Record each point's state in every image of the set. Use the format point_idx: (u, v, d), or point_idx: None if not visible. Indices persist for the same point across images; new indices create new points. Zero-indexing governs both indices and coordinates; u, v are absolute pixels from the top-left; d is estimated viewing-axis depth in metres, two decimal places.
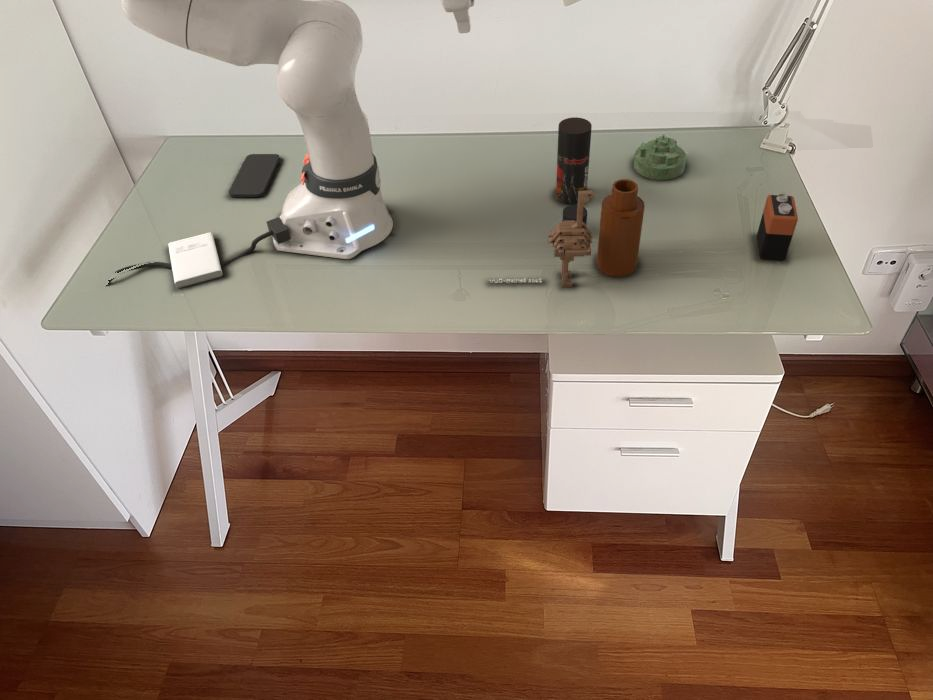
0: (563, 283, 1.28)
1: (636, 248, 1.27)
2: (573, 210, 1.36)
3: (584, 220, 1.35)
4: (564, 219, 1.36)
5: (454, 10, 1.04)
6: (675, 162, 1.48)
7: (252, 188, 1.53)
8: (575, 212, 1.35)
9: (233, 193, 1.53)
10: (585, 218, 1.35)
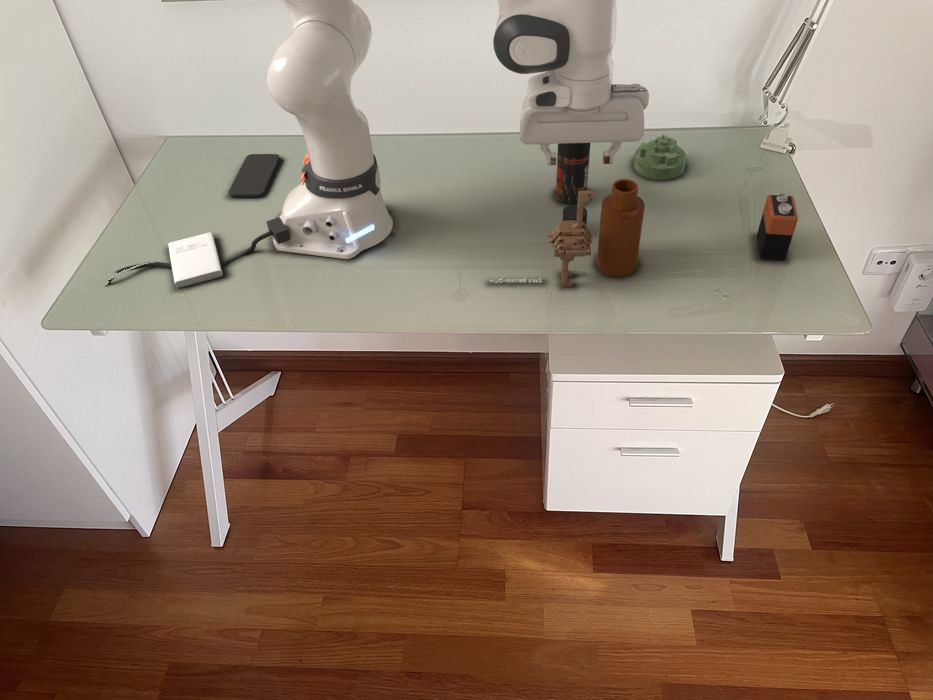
0: (563, 283, 1.28)
1: (636, 248, 1.27)
2: (573, 210, 1.36)
3: (584, 220, 1.35)
4: (564, 219, 1.36)
5: None
6: (675, 162, 1.48)
7: (252, 188, 1.53)
8: (575, 212, 1.35)
9: (233, 193, 1.53)
10: (585, 218, 1.35)
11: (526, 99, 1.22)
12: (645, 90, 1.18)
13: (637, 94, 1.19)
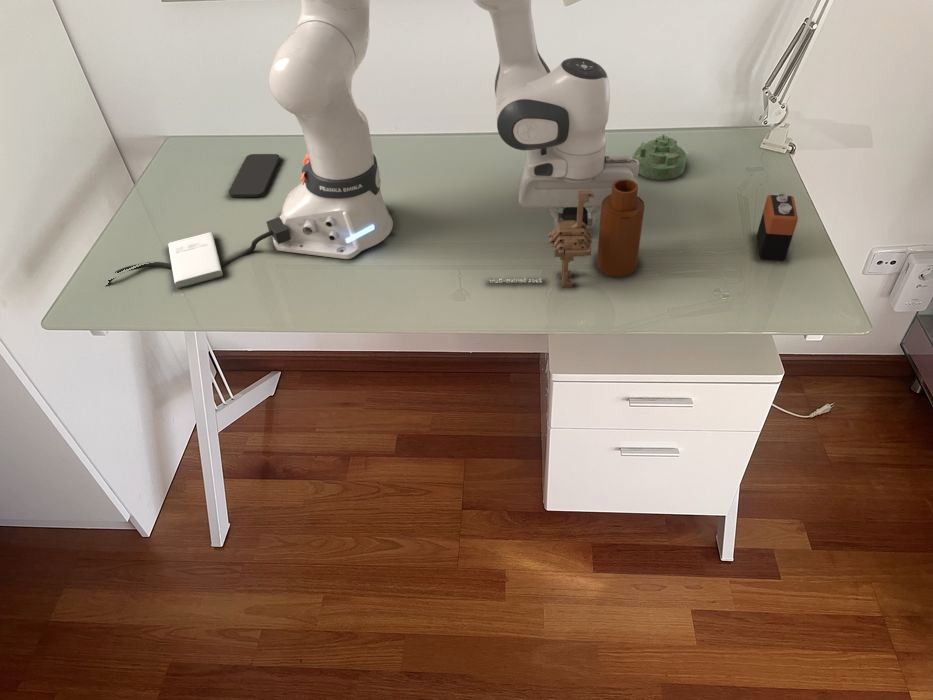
0: (563, 283, 1.28)
1: (636, 248, 1.27)
2: (573, 210, 1.36)
3: (584, 220, 1.35)
4: (564, 219, 1.36)
5: None
6: (675, 162, 1.48)
7: (252, 188, 1.53)
8: (575, 212, 1.35)
9: (233, 193, 1.53)
10: (585, 218, 1.35)
11: (525, 167, 1.31)
12: (636, 161, 1.27)
13: (628, 165, 1.28)
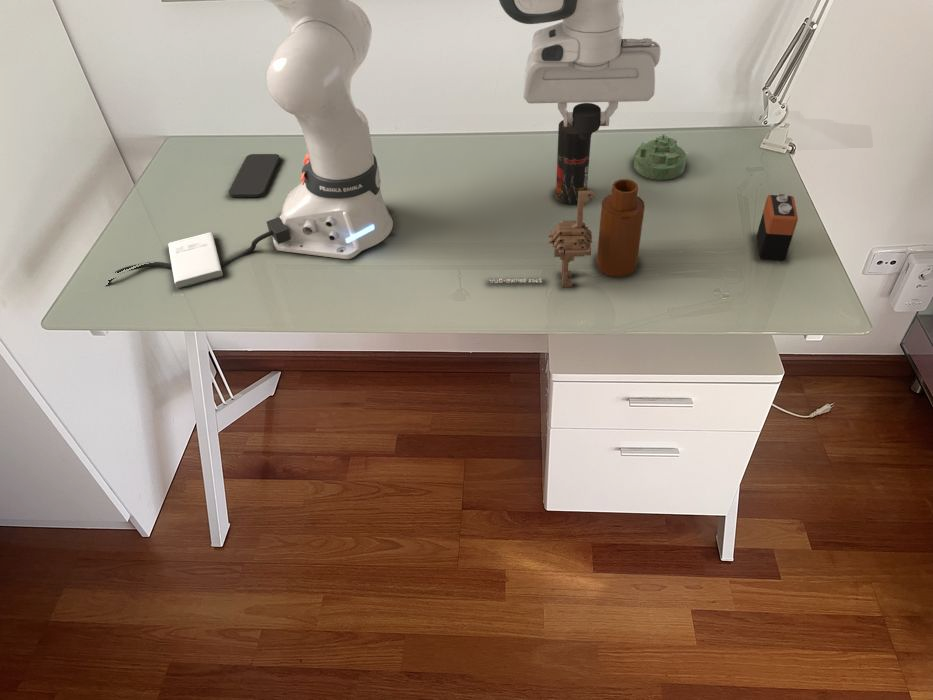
0: (563, 283, 1.28)
1: (636, 248, 1.27)
2: (584, 108, 1.21)
3: (597, 119, 1.20)
4: (575, 118, 1.21)
5: None
6: (675, 162, 1.48)
7: (252, 188, 1.53)
8: (587, 109, 1.20)
9: (233, 193, 1.53)
10: (598, 116, 1.20)
11: (531, 54, 1.16)
12: (657, 45, 1.12)
13: (648, 49, 1.13)
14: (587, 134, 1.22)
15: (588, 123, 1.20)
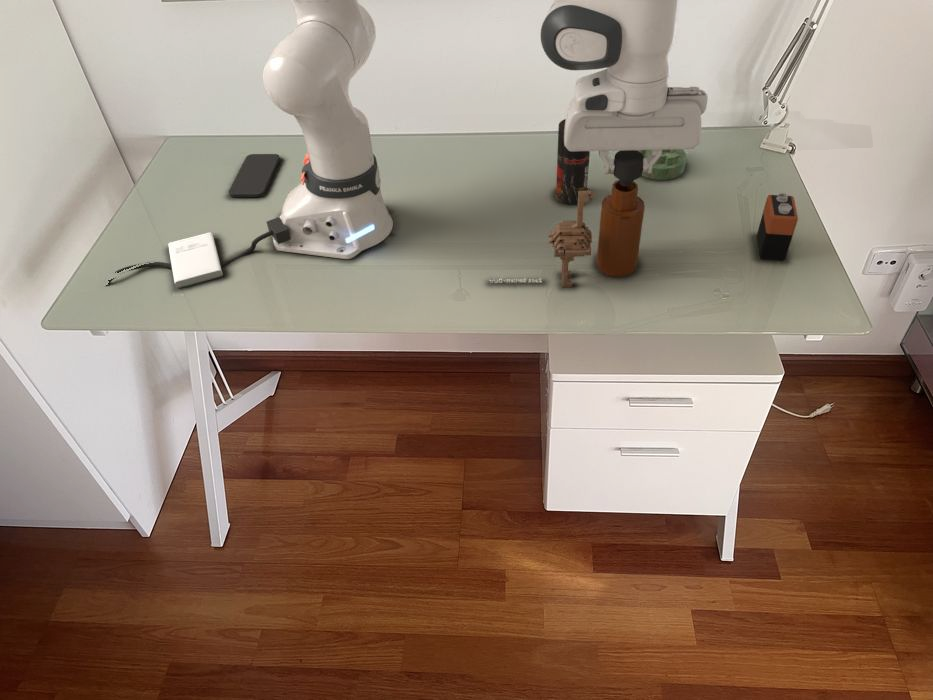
0: (563, 283, 1.28)
1: (636, 248, 1.27)
2: (626, 155, 1.17)
3: (640, 166, 1.17)
4: (616, 165, 1.17)
5: None
6: (675, 162, 1.48)
7: (252, 188, 1.53)
8: (629, 157, 1.17)
9: (233, 193, 1.53)
10: (641, 164, 1.17)
11: (573, 102, 1.12)
12: (704, 94, 1.09)
13: (695, 98, 1.09)
14: (629, 181, 1.19)
15: (631, 171, 1.16)
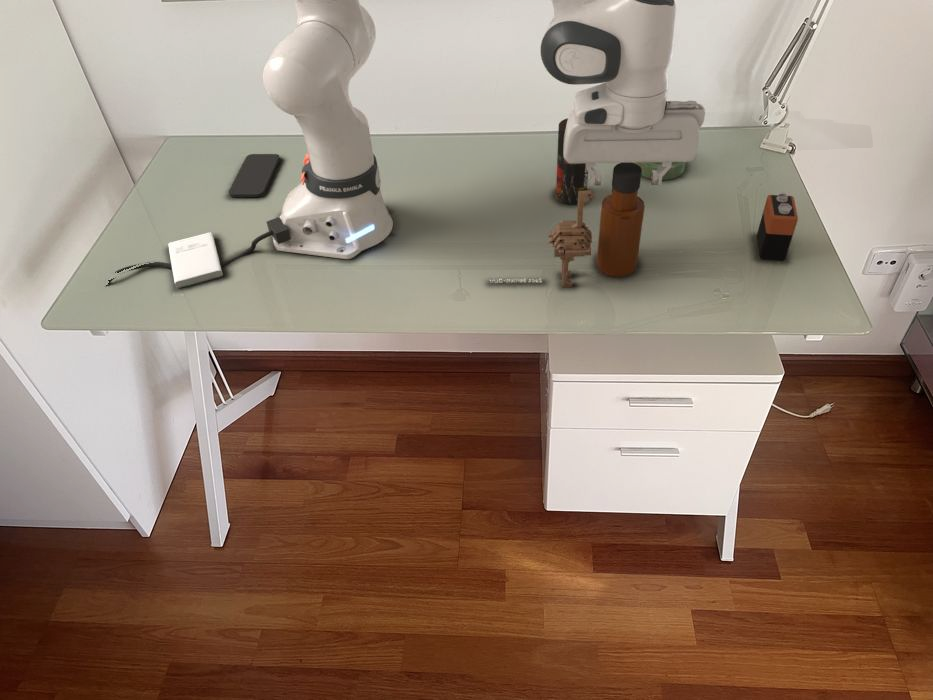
0: (563, 283, 1.28)
1: (636, 248, 1.27)
2: (625, 168, 1.19)
3: (638, 179, 1.18)
4: (615, 178, 1.19)
5: None
6: (675, 162, 1.48)
7: (252, 188, 1.53)
8: (627, 170, 1.19)
9: (233, 193, 1.53)
10: (639, 177, 1.18)
11: (572, 115, 1.14)
12: (701, 107, 1.10)
13: (692, 112, 1.11)
14: None
15: (629, 184, 1.18)
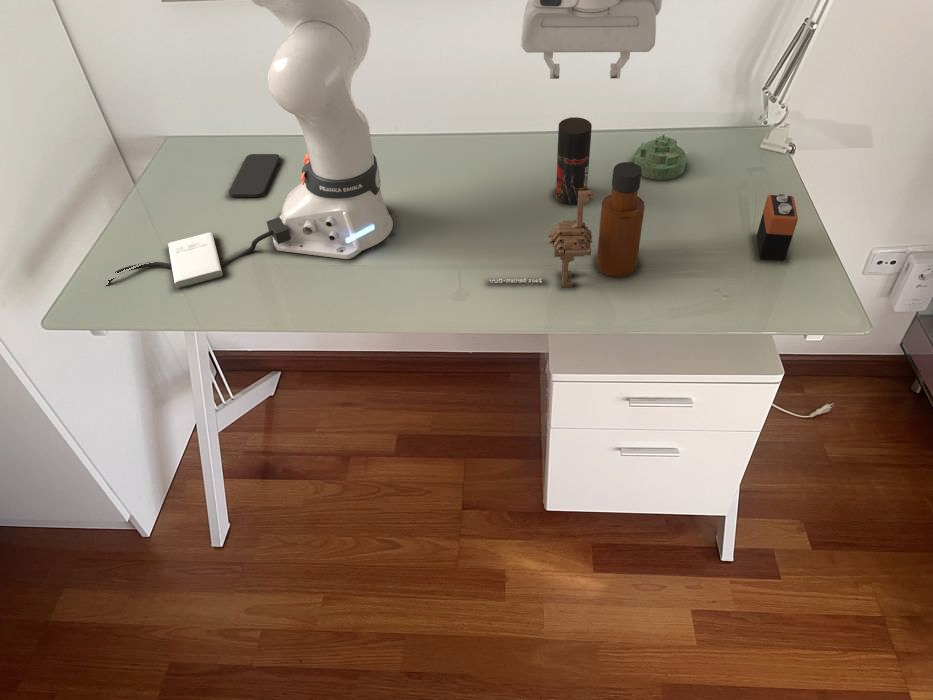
0: (563, 283, 1.28)
1: (636, 248, 1.27)
2: (625, 168, 1.19)
3: (638, 179, 1.18)
4: (615, 178, 1.19)
5: None
6: (675, 162, 1.48)
7: (252, 188, 1.53)
8: (627, 170, 1.19)
9: (233, 193, 1.53)
10: (639, 177, 1.18)
11: (529, 1, 1.13)
12: None
13: None
14: None
15: (629, 184, 1.18)
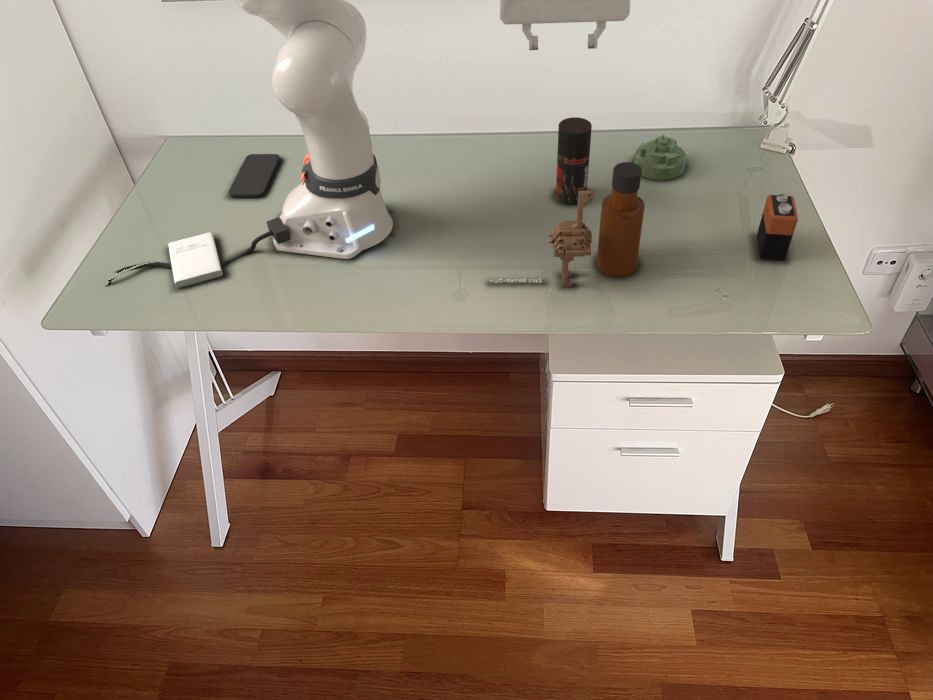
0: (563, 283, 1.28)
1: (636, 248, 1.27)
2: (625, 168, 1.19)
3: (638, 179, 1.18)
4: (615, 178, 1.19)
5: None
6: (675, 162, 1.48)
7: (252, 188, 1.53)
8: (627, 170, 1.19)
9: (233, 193, 1.53)
10: (639, 177, 1.18)
11: None
12: None
13: None
14: None
15: (629, 184, 1.18)
